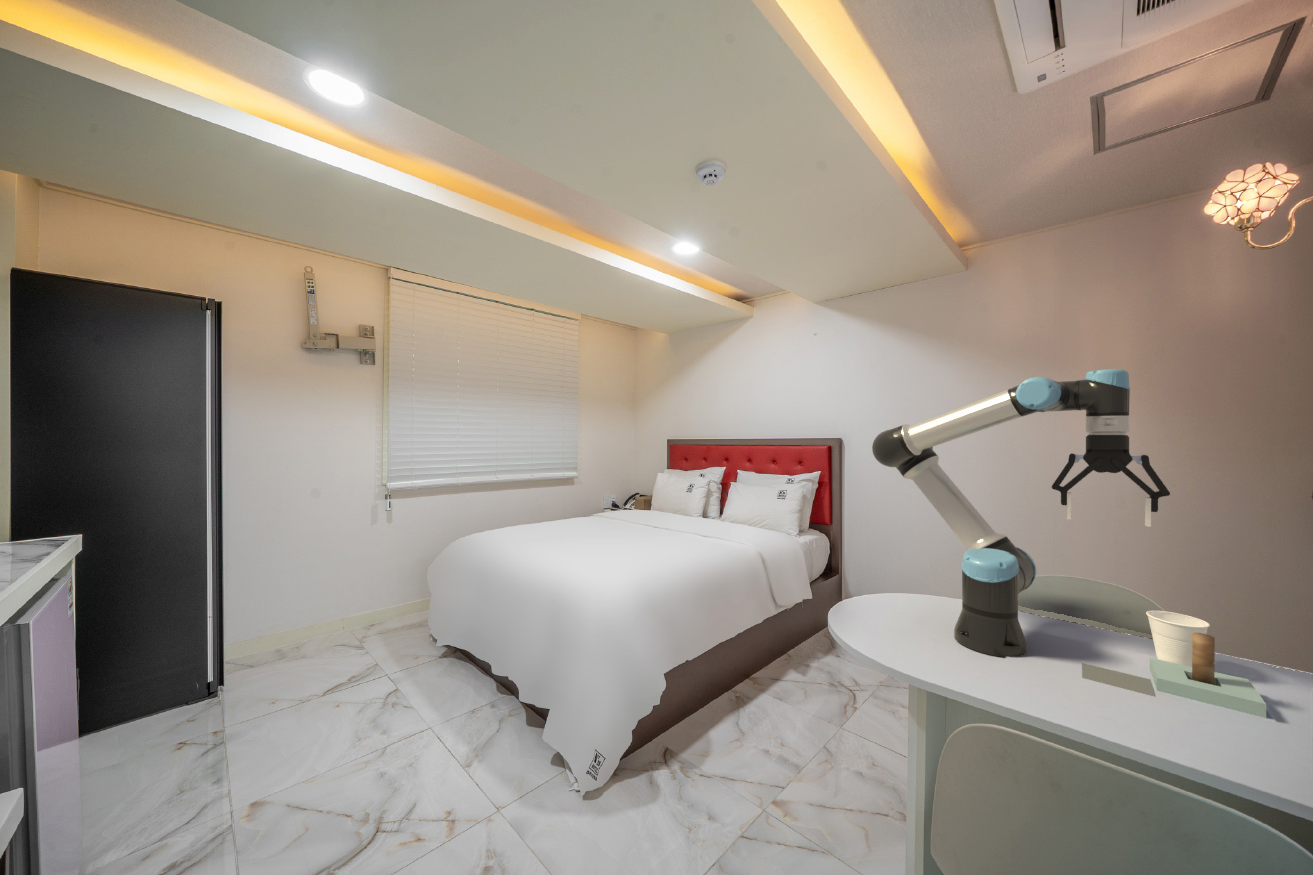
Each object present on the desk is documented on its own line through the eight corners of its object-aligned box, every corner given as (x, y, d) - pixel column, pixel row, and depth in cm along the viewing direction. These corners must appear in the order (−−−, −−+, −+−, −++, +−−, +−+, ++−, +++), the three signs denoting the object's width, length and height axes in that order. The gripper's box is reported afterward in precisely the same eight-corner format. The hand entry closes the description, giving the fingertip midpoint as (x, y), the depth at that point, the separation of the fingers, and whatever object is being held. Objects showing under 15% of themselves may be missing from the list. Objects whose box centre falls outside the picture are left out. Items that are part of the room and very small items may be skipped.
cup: (1224, 678, 102) (1224, 628, 102) (1170, 673, 104) (1170, 624, 104) (1182, 657, 112) (1183, 611, 112) (1134, 653, 114) (1134, 608, 114)
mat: (1082, 679, 101) (1082, 677, 101) (1081, 664, 108) (1081, 662, 108) (1155, 698, 94) (1155, 696, 94) (1150, 681, 101) (1150, 679, 101)
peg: (1193, 693, 96) (1193, 635, 96) (1190, 687, 98) (1190, 631, 98) (1215, 699, 94) (1216, 640, 94) (1212, 693, 96) (1212, 635, 96)
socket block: (1157, 692, 96) (1157, 677, 96) (1149, 670, 105) (1149, 657, 105) (1266, 719, 87) (1266, 704, 87) (1248, 693, 96) (1248, 679, 96)
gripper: (1039, 434, 117) (1038, 518, 117) (1188, 433, 100) (1188, 531, 100) (1040, 434, 122) (1040, 514, 122) (1182, 434, 106) (1181, 526, 106)
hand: (1106, 522), depth 111 cm, fingers open, 13 cm apart
